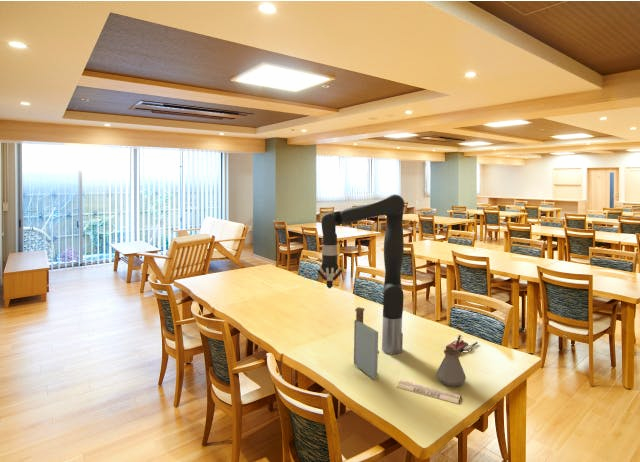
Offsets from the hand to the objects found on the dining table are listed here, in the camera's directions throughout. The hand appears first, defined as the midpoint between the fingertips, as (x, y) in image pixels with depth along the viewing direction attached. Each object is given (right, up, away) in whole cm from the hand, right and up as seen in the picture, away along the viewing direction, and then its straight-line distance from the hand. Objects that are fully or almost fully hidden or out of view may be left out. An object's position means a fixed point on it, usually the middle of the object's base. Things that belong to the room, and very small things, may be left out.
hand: (329, 287), depth 194 cm
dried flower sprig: (+65, -30, -1) cm, 72 cm away
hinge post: (+13, -31, -16) cm, 37 cm away
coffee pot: (+51, -33, -29) cm, 68 cm away
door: (+15, -32, -25) cm, 43 cm away
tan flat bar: (+37, -36, -41) cm, 66 cm away
